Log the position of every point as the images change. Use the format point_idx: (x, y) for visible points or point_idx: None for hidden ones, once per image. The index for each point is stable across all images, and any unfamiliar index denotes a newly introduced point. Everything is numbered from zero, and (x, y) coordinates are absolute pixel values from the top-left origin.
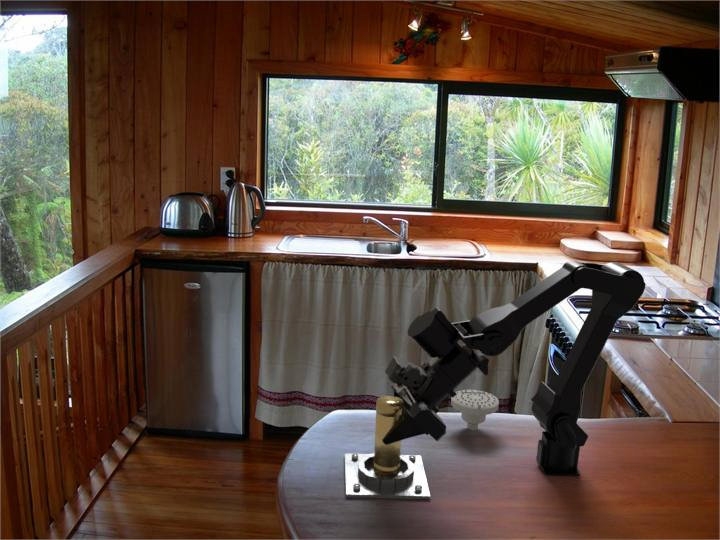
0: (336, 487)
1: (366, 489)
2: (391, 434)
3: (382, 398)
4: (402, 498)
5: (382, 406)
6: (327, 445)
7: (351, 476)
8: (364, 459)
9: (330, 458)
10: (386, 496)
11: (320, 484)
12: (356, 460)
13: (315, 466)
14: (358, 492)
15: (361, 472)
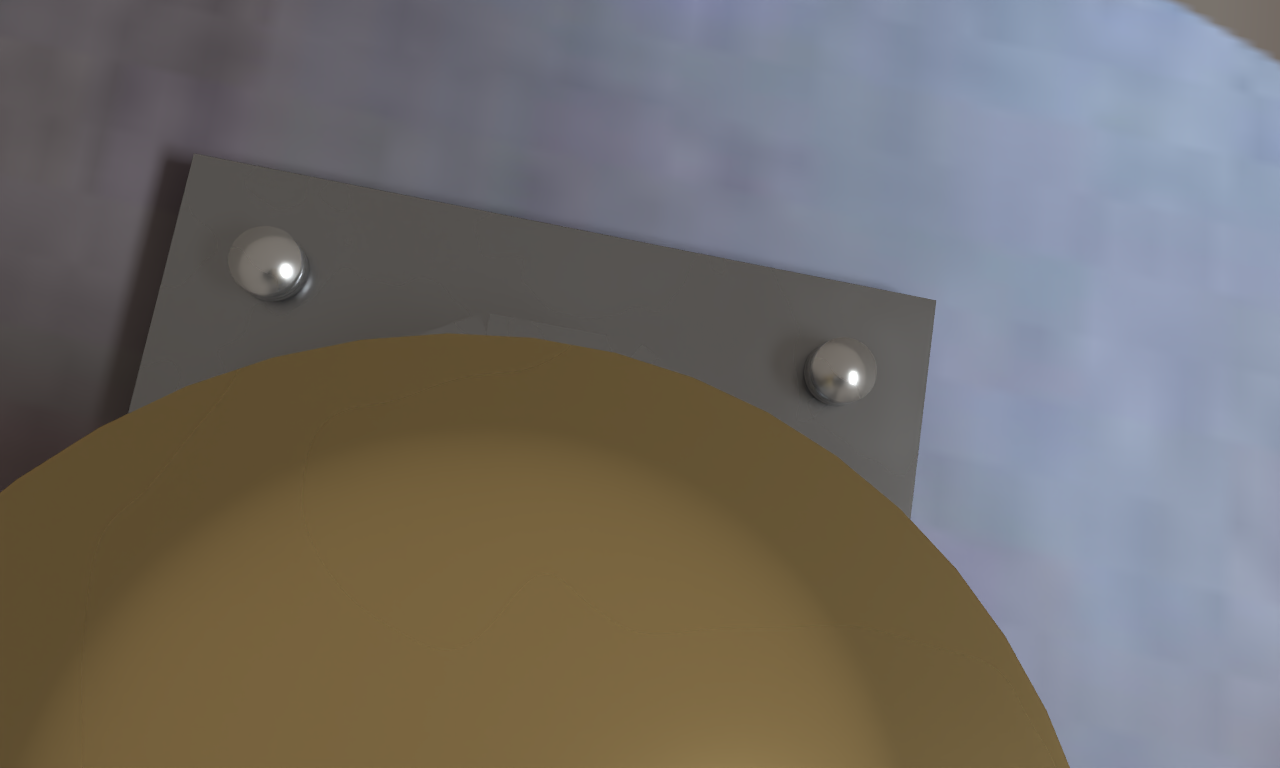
0: (394, 123)
1: (243, 355)
2: None
3: (840, 694)
4: None
5: (11, 505)
6: (1129, 198)
7: (504, 269)
8: None
9: (899, 177)
10: None
11: (466, 3)
12: (797, 380)
13: (772, 24)
14: (204, 270)
15: (431, 333)
